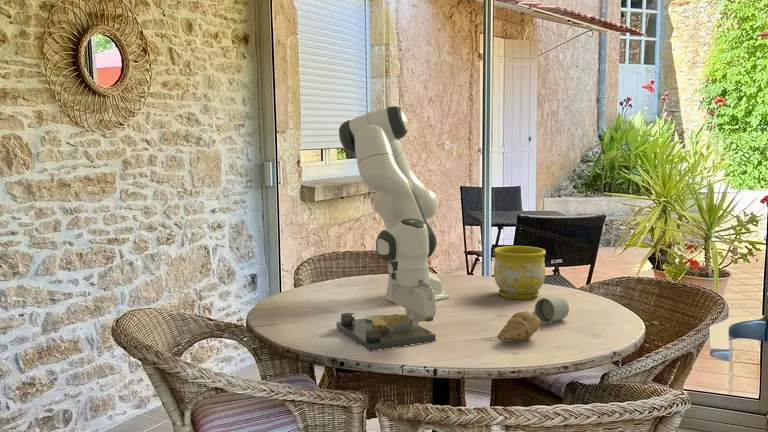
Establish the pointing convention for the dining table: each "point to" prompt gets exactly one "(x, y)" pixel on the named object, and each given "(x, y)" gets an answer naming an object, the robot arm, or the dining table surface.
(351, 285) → the dining table surface
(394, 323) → the lever
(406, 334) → the base
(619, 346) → the dining table surface
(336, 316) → the dining table surface
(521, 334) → the seashell
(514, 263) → the flowerpot
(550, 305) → the ceramic mug
